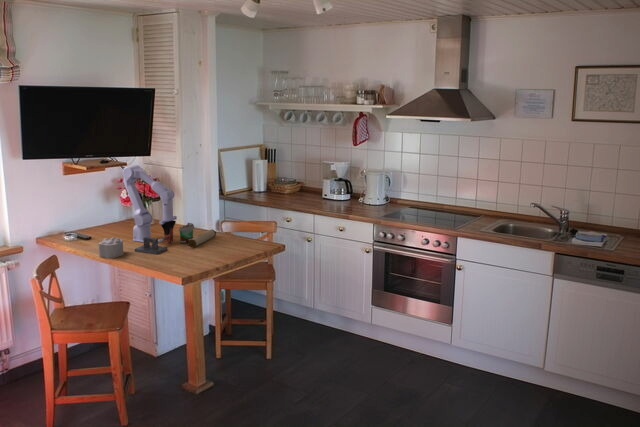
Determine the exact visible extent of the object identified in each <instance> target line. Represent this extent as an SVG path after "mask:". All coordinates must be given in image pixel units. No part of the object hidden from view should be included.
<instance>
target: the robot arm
mask: <svg viewBox="0 0 640 427" xmlns="http://www.w3.org/2000/svg"><path fill="white" fill-rule="evenodd" d="M121 174H122V176H123V185H124V187H125V190H126V191H127V195H128V198H129V200H130V202H131V204H132V206H133V209H134V214H133V217H134V224H135V225H134V226H133V228H132V234H133V235H132V236H133V239H132V241H133V242H138V243H139V242H141V243H144V241H143V238H145V237H148V238H152V237H151V236H152V235H151V225H152V224H151V223H152V222H153V215H152V214H151V213H150V212H149V211H150V210H148V209H147V208H145V206H144V203H143V201H142V199H141V195H140V193H139V191H138V189H137V186H136V184H135V183H136V180H137V179H140V180H142V181H143V182H145V183H146V184H148V185H149V186H150V187H151V190H152V191H154V193H155V194H157V195H158V196H159V198H160V199H161V203H162V218H161V220H159V221H158V224H159V225H160V226H161V227H162V230H163V234H164V233H165V235H169V227H171V228H173V229H174V227H175V225H176V222H177V221H176V220H177V218H178V216H177V215H174V202H173V201H174V200H173V199H174V197H175V192H174V191H173V190H172V189H171V188H168V187H166V186H165V185H163V184H162V182H161V181H156V180H154V179H153V177H151V176H150V175H149V173H147V172H145V171H144V168H142V167H141V166H140V165H139V164H134V165H130V166H125V167H124V168H123V170H122V172H121Z"/></svg>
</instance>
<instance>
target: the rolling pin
mask: <svg viewBox="0 0 640 427" xmlns="http://www.w3.org/2000/svg"><path fill="white" fill-rule="evenodd" d="M216 236H217V231H216V230H214V229H213V228H212V229H209V230H207V231H205V232H203V233H201V234H199V235H197V236H195V237H193V238H192V239H189V241H188V243H187V247H190V248H195V247H197V246H199V245H201V244H204V243H205V242H207V241H208V240H210V239H213V238H215V237H216Z"/></svg>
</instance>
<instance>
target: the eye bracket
mask: <svg viewBox="0 0 640 427" xmlns="http://www.w3.org/2000/svg"><path fill="white" fill-rule="evenodd" d="M158 240H159V239H158V238H157V237H155V238H153V237H151V238H148V237H145V238H143V241H144V242H143V245H141V246H138V247H135V248H134V252H136V253H142V254H150V255H158V254H161V253H163V252H165V251H168V247H167V246H160V245H159V243H158Z"/></svg>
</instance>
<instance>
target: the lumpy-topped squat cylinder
mask: <svg viewBox="0 0 640 427" xmlns="http://www.w3.org/2000/svg"><path fill="white" fill-rule="evenodd" d="M122 255H124V241H123V239H122V238H119V237H111V238H107V237H105V238H103V240H102V241H100V242H98V257H99V258H106V259H115V258H118V257H120V256H122Z"/></svg>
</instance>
